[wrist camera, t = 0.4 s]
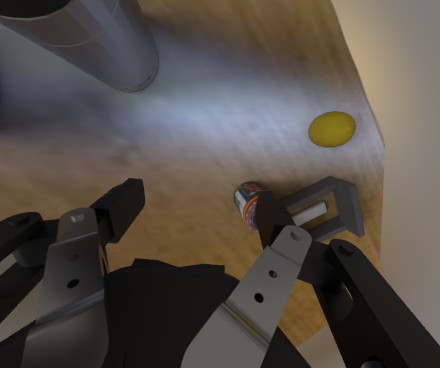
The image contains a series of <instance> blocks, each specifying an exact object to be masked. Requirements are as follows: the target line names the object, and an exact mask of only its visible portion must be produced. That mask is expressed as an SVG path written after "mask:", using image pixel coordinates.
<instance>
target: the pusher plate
mask: <svg viewBox="0 0 440 368" xmlns="http://www.w3.org/2000/svg"><path fill="white" fill-rule="evenodd" d="M325 212H327V210H326V206H325V202H323V201H322V202H320V203H318V204H316V205H314V206H312V207H310V208H308V209H306V210H304V211H302V212H300V213H298V214H296V215H294V216H292V219H293V220H294V222H295V224H296V226H299V225H301V224H303V223H305V222H307V221H309V220H311V219H313V218H315V217H317V216H319V215H321V214H323V213H325Z"/></svg>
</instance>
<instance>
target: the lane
mask: <svg viewBox="0 0 440 368" xmlns="http://www.w3.org/2000/svg"><path fill="white" fill-rule="evenodd" d="M331 191H333V192H334V196H335V200H336V205H337V209H338V213H339V216H337V217H335V218H333V219H331V220H329V221H327V222H325V223H323V224H321V225H319V226H317V227H315V228H313V229H311V230H309V231H307V232H308V233H309V234H310V236H311V237H312V240H314V241H317V242H322V241H324V240H326V239H328V238H330V237H332V236H334V235H336V234H338V233H340V232H342V231H344V230H346V229H347V230H348V231H350V232H352V233H353V234H355V235H356V236H358V237H362V236H364V235H365V231H364V226H363V220H362V215H361V209H360V204H359V198H358V192H357V187H356V184H352V183H349V182H346V181H343V180H340V179H337V178H334V177H330V176H329V177H327V178H325V179H323V180H321V181H319V182H317V183H315V184H313V185H311V186H309V187H307V188H305V189H303V190H301V191H299V192H296V193H294V194H292V195H290V196H288V197H286V198H284V199H282V200H280V201H281V202H283V203H284V204H285V206H286V208H287V210H288V212H290V211H292V210H294V209H296V208H298V207H300V206H302V205H304V204H306V203H309V202H311V201H313V200H315V199H317V198H319V197H321V196H323V195H325V194H327V193H329V192H331Z"/></svg>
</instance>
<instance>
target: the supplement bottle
mask: <svg viewBox="0 0 440 368" xmlns="http://www.w3.org/2000/svg"><path fill="white" fill-rule="evenodd" d="M260 190H262V191H266V190H264V189H263V188H262V187H261V186H259V185H258V184H256V183H254V182H246V183H243V184H241V185H240V186H238V187H237V189H236V190H235V193H234V202H235V205H236V207H237V208H238V210H239V212H240V213H241V215H242V217H243V219H244V220H245V222H246V224H247V225H248V226H249V228H250V229H251V230H253V231H255V232H257V233H259V231H258V228H257V224H256V220H255V208H256V203H257V199H258V195H259V191H260ZM275 199H276V198H275Z"/></svg>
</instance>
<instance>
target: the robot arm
mask: <svg viewBox="0 0 440 368" xmlns="http://www.w3.org/2000/svg"><path fill="white" fill-rule="evenodd" d="M0 24H2V25H4V26H6V27H7V28H9V29H11V30H13V31H15V32H16V33H18V34H20V35H22V36H24V37H25V38H27V39H29V40H31V41H32V42H34V43H36V44H38V45H40V46H41V47H43V48H45V49H47V50H48V51H50V52H52V53H54V54H55V55H57V56H59V57H61V58H62V59H64V60H66V61H68V62H69V63H71V64H73V65H75V66H76V67H78V68H80V69H82V70H83V71H85V72H87V73H89V74H90V75H92V76H94V77H96V78H97V79H99V80H101V81H103V82H105V83H106V84H108V85H110V86H112V87H113V88H115V89H118V90H121V91H126V92H135V91H139V90H142V89H144V88H145V87H147V86H148V85H149V84H150V83H151V82H152V81H153V79H154V78H155V76H156V73H157V70H158V63H159V59H158V51H157V48H156V45H155V42H154V40H153V37H152V35H151V33H150V30H149V27H148V25H147V22H146V20H145V18H144V15H143V13H142V10H141V8H140V6H139V3H138V1H137V0H0ZM144 205H145V194H144V186H143V181H142V179H135V178H129V179H127V180H126V181H125V182H124V183H123V184H120V185H118V186H116V187H113V188H112V189H111V190H109V191H108V192H107V193H106V194H104V195H103V197H101V198H99V199H98V200H97V201H96V202H95V203H93V204H92V205H91V206H90V207H83V208H77V209H73V210H71V211H68V212H66V213H65V214H63V215H62V216H61V217H60V219H54V220H45V221H43V219H42V217H41V215H40V214H39V213H37V212H26V213H21V214H17V215H14V216H11V217H8V218H6V219H4V220H2V221H1V222H0V262H1V261H2V260H3V259H4V258H6V257H7V256H8V255H10V254H11V253H12V254H13V256H14V257H15V259H16V260H17V262H16V263H15V264H13V265H12V266H11V267H10V268H9V269H7V270H6V271H5V272H4V273H3V274H2V275H0V323H1V322H2V321H3V320H4V319H5V318H6V317H7V316H8V315H9V313H11V312H12V310H13V309H14V308H15V307H16V306H17V305H18V304H19V303H20V302H21V301H22V300H23V299H24V298H25V297H26V295H27V294H28V293H29V292H30V291H31V290H32V289H33V288H34V287H35V286H36V285H37V284H38V282H40V281H41V279H42V278H43V283H42V288H41V294H40V300H39V307H38V312H37V318H36V320H34V321H33V322H31V323H30V324H28V325H27V326H25V327H23V328H22V329H20V330H19V331H17V332H16V333H14V334H12V335H11V336H9V337H8V338H6V339H5V340H3V341H2V342H0V368H311V367H310V365H309V364H308V363H307V362H306V360H305V359H304V358H303V357H302V355H301V354H300V353H299V352H298V350H297V349H296V348H295V347H294V345H293V344H292V343H291V342H290V340H289V339H288V338H287V337H286V335H285V334H284V333H283V332H282V330H281V329H280V328H279V327H278V322H279V320H280V317H281V315H282V313H283V310H284V308H285V305H286V303H287V301H288V298H289V296H290V293H291V291H292V289H293V286H294V284H295V281H296V279H299V280H302V281H305V282H307V283H310V284H312V286H313V288H314V291H315V293H316V295H317V298H318V300H319V303H320V305H321V308H322V310H323V312H324V315H325V317H326V320H327V322H328V325H329V327H330V329H331V332H332V334H333V336H334V339H335V341H336V344H337V346H338V349H339V351H340V354H341V356H342V358H343V361H344V363H345V366H346V368H440V346H439V344H438V343H437V342H436V341H435V340H434V338H433V337H432V336H431V335H430V333H429V332H428V331H427V330H426V329H425V327H424V326H423V325H422V324H421V323H420V321H419V320H418V319H417V318H416V317H415V315H414V314H413V313H412V312H411V311H410V309H409V308H408V307H407V306H406V304H405V303H404V302H403V301H402V300H401V298H400V297H399V296H398V295H397V294H396V292H395V291H394V290H393V289H392V288H391V286H390V285H389V284H388V283H387V282H386V280H385V279H384V278H383V277H382V275H381V274H380V273H379V272H378V271H377V269H376V268H375V267H374V266H373V265H372V263H371V262H370V261H369V260H368V259H367V257H366V256H365V255H364V254H363V253H362V251H361V250H360V249H359V248H357V247H356V246H355V245H353V244H352V243H350V242H348V241H345V240H342V239H332V240H331V241H330V243H329V245H327V244H324V243H320V242H317V241H314V240H312V237H311V236H310V234H309V233H308V232H307V231H306V230H304V229H302V228H300V227H298V226H296V224H295V222H294V220H293V219H292V217H291V215H290V214H289V212H288V210H287V208H286V206H285V204H284V203H283V202H281V201H280V200H279V199H275V197H274V195H273V193H272V192H271V191H262V190H260V191H259V195H258V199H257V203H256V208H255V220H256V224H257V228H258V231H259V235H260V239H261V243H262V247H263V252H262V253H261V255H260V256H259V257H258V259H257V260H256V261H255V263H254V264H253V265H252V267H251V268H250V269H249V271H248V272H247V273H246V275H245V276H244V277H243V279H242V280H241V281H239V280H238V279H236V278H235V277H233V276H231V275H229V274H226V273H225V266H224V265H211V264H198V265H191V266H185V267H176V266H173V265H170V264H167V263H165V262H162V261H159V260H150V259H138V258H135V260H134V262H133V264H132V265H131V266H128V267H124V268H120V269H118V270H115V271H113V272H110V268H109V263H108V257H107V251H106V247H105V246H106V245H107V243H116V244H117V243H118V242H119V240H120V239H121V237H122V236H123V235H124V233H125V232H126V231H127V229H128V228H129V227H130V225H131V224H132V222H133V221H134V220H135V218H136V217H137V216H138V214H139V213H140V212H141V210H142V209H143V207H144ZM345 287H346V288H347V289H348V291H349V293H350V294H351V297H352V299H353V300H352V299H351V297H350V295H349V293H348V292H347V290H346V288H345Z"/></svg>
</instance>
